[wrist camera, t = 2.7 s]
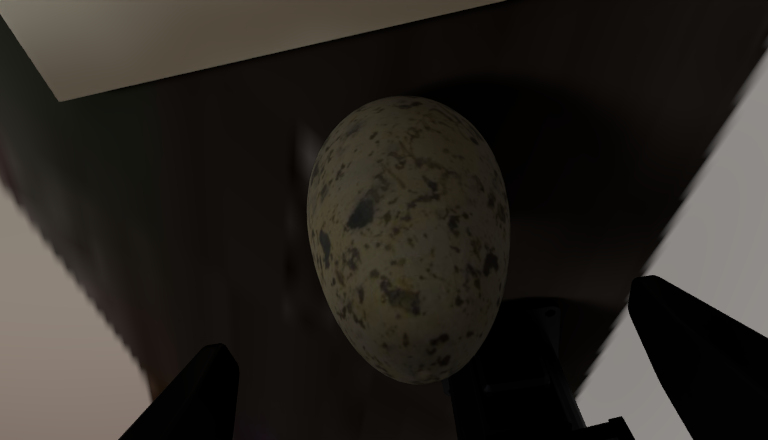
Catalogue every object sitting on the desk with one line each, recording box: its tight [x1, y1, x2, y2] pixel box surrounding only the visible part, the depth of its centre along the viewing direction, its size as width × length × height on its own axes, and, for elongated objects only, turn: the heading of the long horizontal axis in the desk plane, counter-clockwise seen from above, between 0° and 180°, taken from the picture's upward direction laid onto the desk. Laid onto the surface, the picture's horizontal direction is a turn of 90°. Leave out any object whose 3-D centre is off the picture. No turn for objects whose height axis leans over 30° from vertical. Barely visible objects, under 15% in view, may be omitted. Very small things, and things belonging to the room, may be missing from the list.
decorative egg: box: [307, 96, 510, 385], centre depth 12 cm, size 6×6×10 cm
